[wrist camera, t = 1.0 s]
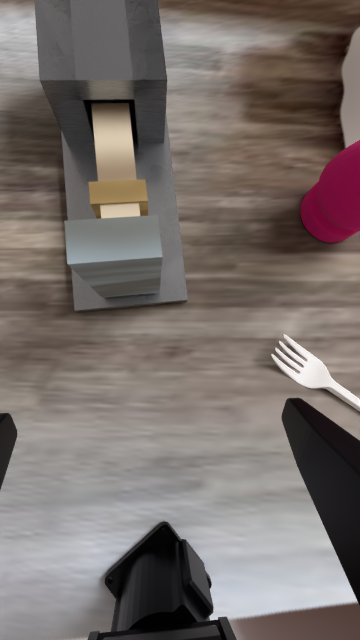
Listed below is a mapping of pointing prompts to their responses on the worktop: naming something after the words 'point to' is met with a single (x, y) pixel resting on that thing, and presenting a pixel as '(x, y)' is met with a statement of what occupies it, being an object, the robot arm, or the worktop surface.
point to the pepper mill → (335, 198)
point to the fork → (312, 372)
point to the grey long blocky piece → (112, 87)
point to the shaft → (116, 216)
